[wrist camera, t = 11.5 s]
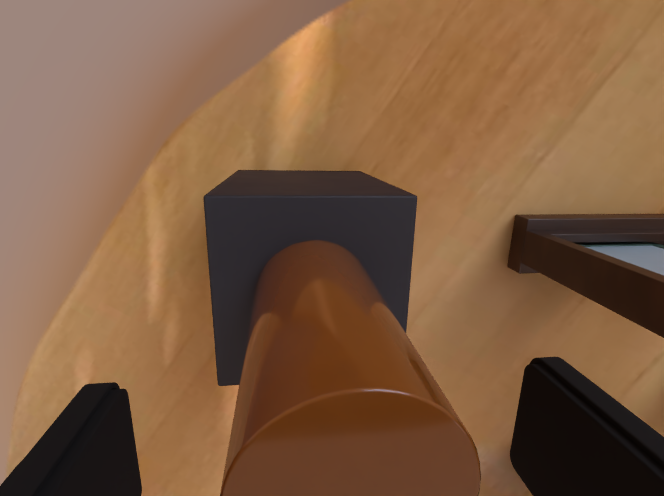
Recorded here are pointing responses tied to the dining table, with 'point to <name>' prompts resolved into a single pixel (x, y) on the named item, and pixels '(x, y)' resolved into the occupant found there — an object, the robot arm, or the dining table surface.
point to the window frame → (594, 260)
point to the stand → (300, 240)
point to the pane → (634, 253)
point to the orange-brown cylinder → (338, 392)
